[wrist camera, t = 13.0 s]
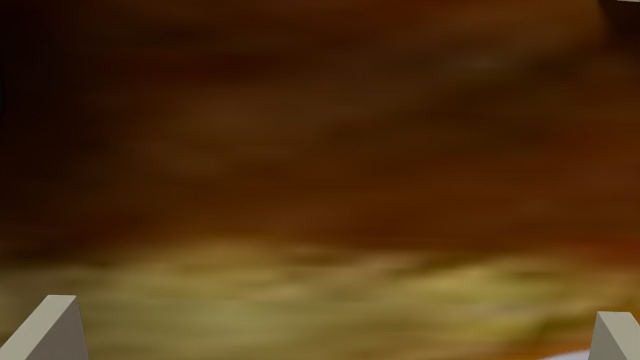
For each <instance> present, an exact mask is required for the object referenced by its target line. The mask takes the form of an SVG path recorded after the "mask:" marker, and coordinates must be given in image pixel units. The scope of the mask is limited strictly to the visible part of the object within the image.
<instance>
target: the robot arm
mask: <svg viewBox="0 0 640 360" xmlns="http://www.w3.org/2000/svg"><path fill="white" fill-rule="evenodd" d="M2 111H3V86H2V80H1V75H0V120H1V116H2ZM0 360H89V356H88V351H87V346H86V340H85V335H84V330H83V325H82V320H81V315H80V310H79V304H78V299H77V296H71V295H48V296H47V297H46V298H45V299H44V300H43V301H42V302H41V304H40V305H39V306H38V307H37V308H36V309H35V310H34V311H33V313H32V314H31V315H30V316H29V317H28V318H27V319H26V320H25V322H24V323H23V324H22V325H21V326H20V327H19V328H18V329H17V330H16V332H15V333H14V334H13V335H12V336H11V337H10V338H9V339H8V341H7V342H6V343H5V344H4V345H3V346H2V347H1V348H0ZM588 360H640V326H639V324H638V323H637V322H636V320H635V319H634V317H633V316H632V315H631V313H630V312H599V311H598V312H597V317H596V322H595V327H594V333H593V338H592V343H591V348H590V354H589V359H588Z"/></svg>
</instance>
